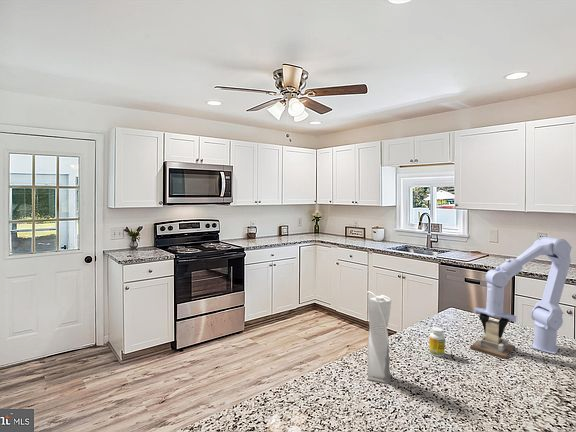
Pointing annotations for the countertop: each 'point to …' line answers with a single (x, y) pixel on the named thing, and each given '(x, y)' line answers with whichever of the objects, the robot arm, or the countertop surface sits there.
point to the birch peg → (492, 332)
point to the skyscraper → (378, 339)
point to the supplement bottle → (437, 342)
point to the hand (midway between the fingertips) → (493, 334)
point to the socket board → (493, 347)
